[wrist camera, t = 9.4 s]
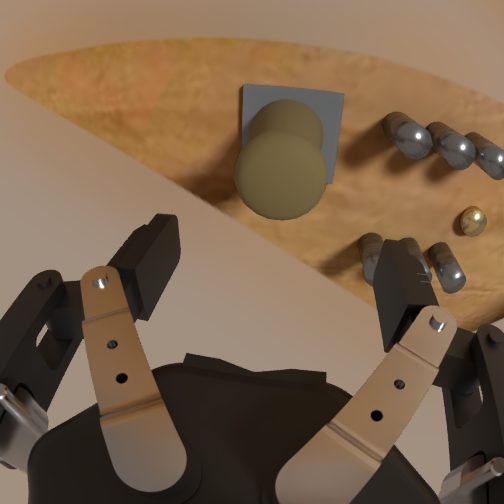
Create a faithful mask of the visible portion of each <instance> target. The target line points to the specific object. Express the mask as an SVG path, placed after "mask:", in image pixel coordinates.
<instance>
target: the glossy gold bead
mask: <svg viewBox="0 0 504 504" xmlns="http://www.w3.org/2000/svg"><path fill="white" fill-rule="evenodd" d="M459 224H460V227H461V229H462V230H463V232H464V233H465V234H466V235H467V236H469V237H475V236H477V235H479V234H480V233H482V231H483V230H484V229H485V227H486V224H487V218H486V215H485V214H484V213H483V212H482V210H481V209H480V208H478V207H476V206H471V207H468V208H467V209H465V210H464V211H463V213H462V214H461V216H460V220H459Z"/></svg>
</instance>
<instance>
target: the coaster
mask: <svg viewBox="0 0 504 504" xmlns="http://www.w3.org/2000/svg"><path fill="white" fill-rule="evenodd" d="M282 99H289V100H296V101H299V102H301V103H303V104H306V105H307V106H309V107H310V108H311V109H312V110H313V111H314V112H316V114H317V116H318V117H319V119H320V121H321V122H322V127H323V132H324V136H323V144H322V148H321V154H322V155H323V157H324V160H325V164H326V169H327V174H328V177H327V184H332V182H333V176H334V169H335V162H336V155H337V148H338V141H339V134H340V126H341V118H342V109H343V101H344V94H343V93H337V92H329V91H322V90H314V89H305V88H295V87H284V86H270V85H253V84H244V85H243V113H242V148H243V147H244V146H245V145H246V144H247V143H248V141H249V140H250V135H251V125H252V122H253V120H254V117H255V115H256V114H257V113H258V112H259V111H260V109H261V108H262V107H264V106H265V105H267V104H269V103H271V102H272V101H277V100H282ZM242 148H241V150H242Z"/></svg>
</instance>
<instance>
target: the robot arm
mask: <svg viewBox="0 0 504 504" xmlns="http://www.w3.org/2000/svg"><path fill="white" fill-rule="evenodd" d="M180 251H181V248H180V238H179V228H178V219H177V216H175V215H170V214H156V215H155V216H154V218H153V219H152V220H151V221H150V223H149V224H148V225H145V224H144V225H142V226H141V227H139V228H138V229H136V230H134V231H133V233H132V234H131V235H130V236H129V237H128V240H126V241H125V242H124V244H123V246H121V247H120V249H119V250H118V251H117V253H116V254H115V255H114V256H113V258H112V259H111V260H110V261H109V263H108V264H107V265H106V266H99V267H95V268H93V269H91V270H89V271H88V272H86V273H85V274H84V275H83V277H82V279H81V280H79V281H67V282H63V279H62V276H61V274H60V273H59V272H58V271H56V270H46V271H43V272H40V273H38V274H37V275H36V276H34V277H33V278H32V279H31V280H30V282H29V283H28V284H27V285H26V287H25V288H24V289H23V291H22V292H21V293H20V294H19V296H18V297H17V298H16V300H15V301H14V302H13V304H12V305H11V306H10V308H9V309H8V310H7V312H6V313H5V315H4V316H3V317H2V319H1V320H0V463H1V464H2V465H4V466H5V467H7V468H9V469H19V470H20V471H22V472H24V473H26V474H27V475H28V487H29V497H28V504H504V333H503V332H502V331H501V330H500V329H499V328H497V327H495V326H493V325H490V324H484V325H482V326H480V327H479V329H478V330H477V332H476V333H472V332H470V331H467V330H464V329H461V328H458V327H457V323H456V320H455V318H454V317H453V315H452V314H451V313H450V312H448V311H447V310H445V309H444V308H442V307H439V304H438V301H437V299H436V296H435V293H434V291H433V288H432V286H431V283H430V281H429V278H428V276H427V273H426V271H425V268H424V266H423V264H422V263H421V262H420V261H419V260H418V259H417V258H416V257H415V256H412V255H410V254H409V251H408V249H407V247H406V244H405V242H403V241H396V240H389V239H386V240H385V241H384V242H383V245H382V249H381V252H380V255H379V258H378V262H377V265H376V268H375V271H374V276H373V289H374V294H375V299H376V305H377V310H378V316H379V321H380V327H381V333H382V338H383V345H384V351H385V352H387V353H388V354H387V356H386V357H385V358H384V360H383V361H382V362H381V364H380V365H379V366H378V367H377V369H376V370H375V371H374V372H373V373H372V375H371V376H370V377H369V378H368V380H367V381H366V382H365V383H364V385H363V386H362V387H361V388H360V389H359V390H358V392H357V393H356V394H355V395H354V396H352V395H350V394H349V393H347V392H346V391H344V390H343V389H341V388H339V387H337V386H335V385H332V384H330V383H327V382H326V372H317V371H308V370H298V369H286V370H275V371H263V372H252V371H250V370H247V369H244V368H242V367H239V366H236V365H234V364H231V363H229V362H226V361H224V360H221V359H217V358H211V357H206V356H200V355H195V354H189V353H186V356H185V359H184V361H183V363H174V364H168V365H164V366H161V367H158V368H155V369H153V370H151V369H150V367H149V364H148V361H147V359H146V356H145V353H144V351H143V348H142V345H141V342H140V339H139V337H138V333H137V330H136V327H135V325H134V323H135V322H136V320H137V319H140V320H146V321H148V320H149V318H150V316H151V314H152V312H153V310H154V308H155V306H156V304H157V302H158V300H159V298H160V297H161V295H162V293H163V291H164V289H165V287H166V285H167V283H168V281H169V280H170V278H171V276H172V274H173V272H174V270H175V268H176V266H177V264H178V262H179V259H180V253H181V252H180ZM45 324H46V325H47V327H48V330H47V332H46V333H45V335H44V337H43V338H42V340H41V342H40V343H39V345H38V347H36V340H37V336H38V334H39V333H40V331H41V330H42V328H43V326H44V325H45ZM82 339H84V340H85V346H86V351H87V357H88V362H89V367H90V372H91V377H92V381H93V385H94V390H95V393H96V398H97V402H98V403H96V404H95V405H93V406H91V407H89V408H87V409H86V410H84V411H82V412H81V413H79V414H77V415H76V416H74V417H72V418H70V419H69V420H67V421H65V422H64V423H62V424H60V425H58V426H57V427H55V428H53V429H51V430H50V431H48V429H47V428H48V416H47V414H46V412H47V410H48V408H49V406H50V403H51V401H52V399H53V397H54V395H55V392H56V391H57V388H58V386H59V384H60V382H61V380H62V378H63V376H64V374H65V372H66V370H67V368H68V366H69V364H70V362H71V360H72V358H73V356H74V354H75V352H76V350H77V348H78V347H79V345H80V343H81V341H82ZM431 384H432V385H435V386H439V387H442V392H443V398H444V406H445V414H446V422H447V431H448V442H449V454H450V473H448V475H447V476H446V477H445V478H444V480H443V483H442V486H441V491H440V493H439V498H438V496H437V495H436V493H435V492H434V491H433V490H432V488H431V487H430V486H429V485H428V484H427V483H426V481H425V480H424V479H423V478H422V477H421V475H420V474H419V473H418V472H417V471H416V470H415V468H414V467H413V466H412V465H411V464H410V463H409V461H408V460H407V459H406V458H405V457H404V455H403V454H402V453H401V452H400V451H399V450H398V448H397V447H396V446H395V445H394V443H395V442H396V441H397V439H398V438H399V436H400V435H401V433H402V432H403V430H404V429H405V427H406V426H407V424H408V423H409V421H410V420H411V418H412V416H413V415H414V413H415V412H416V410H417V408H418V407H419V405H420V403H421V402H422V400H423V398H424V397H425V395H426V393H427V391H428V390H429V388H430V386H431ZM479 386H481V391H482V395H483V403H482V401H481V397H480V392H479Z"/></svg>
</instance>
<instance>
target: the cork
mask: <svg viewBox="0 0 504 504" xmlns="http://www.w3.org/2000/svg"><path fill="white" fill-rule="evenodd" d="M323 136H324V132H323V127H322V122H321V121H320V119H319V117H318V116H317V114H316V112H314V111H313V110H312V109H311V108H310V107H309V106H307V105H306V104H303V103H301V102H299V101H296V100H289V99H282V100H277V101H272V102H271V103H269V104H267V105H265V106H264V107H262V108H261V109H260V111H259V112H258V113H257V114H256V115H255V117H254V120H253V122H252V125H251V135H250V140H249V141H248V143H247V144H246V145H245V146H244V147H243V148H242V150H241V151H240V153H239V155H238V158H237V160H236V163H235V166H234V181H235V185H236V188H237V191H238V195H239V196H240V198H241V199H242V200H243V202H244V203H245V205H246V206H247V207H249V208H250V209H251V210H253V211H254V212H255V213H256V214H258V215H261V216H263V217H266V218H268V219H274V220H289V219H295V218H298V217H300V216H302V215H304V214H306V213H308V212H309V211H310V210H312V209H313V208H314V207H315V206H316V205H317V204H318V202H319V201H320V199H321V197H322V195H323V193H324V191H325V189H326V183H327V177H328V174H327V169H326V164H325V160H324V157H323V155H322V154H321V148H322V144H323Z"/></svg>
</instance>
